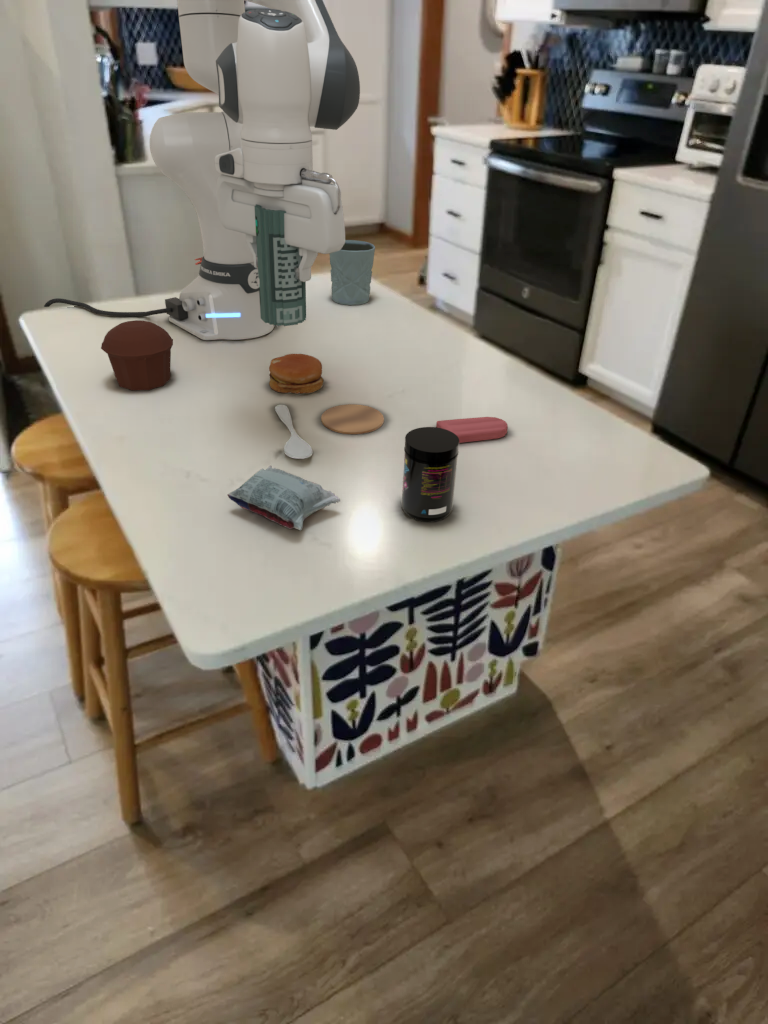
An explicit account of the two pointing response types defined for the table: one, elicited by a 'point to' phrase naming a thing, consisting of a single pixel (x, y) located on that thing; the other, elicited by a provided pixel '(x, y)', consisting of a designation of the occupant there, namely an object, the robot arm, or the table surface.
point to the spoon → (293, 437)
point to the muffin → (139, 354)
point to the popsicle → (475, 428)
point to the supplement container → (429, 473)
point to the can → (278, 271)
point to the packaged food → (282, 497)
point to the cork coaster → (352, 419)
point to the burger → (295, 374)
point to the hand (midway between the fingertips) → (281, 274)
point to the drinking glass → (352, 272)
